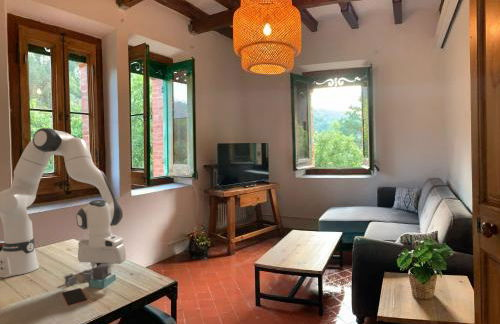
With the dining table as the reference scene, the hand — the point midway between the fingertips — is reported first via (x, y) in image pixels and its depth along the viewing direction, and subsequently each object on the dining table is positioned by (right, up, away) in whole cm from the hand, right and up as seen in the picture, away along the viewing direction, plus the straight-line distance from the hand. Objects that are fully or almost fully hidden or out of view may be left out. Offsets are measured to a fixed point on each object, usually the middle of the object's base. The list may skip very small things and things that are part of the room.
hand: (102, 272), depth 145 cm
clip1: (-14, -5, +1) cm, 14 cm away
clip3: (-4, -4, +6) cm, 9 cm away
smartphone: (-6, -6, -11) cm, 14 cm away
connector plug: (0, -2, +2) cm, 3 cm away
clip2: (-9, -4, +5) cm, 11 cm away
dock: (0, -5, 0) cm, 5 cm away
